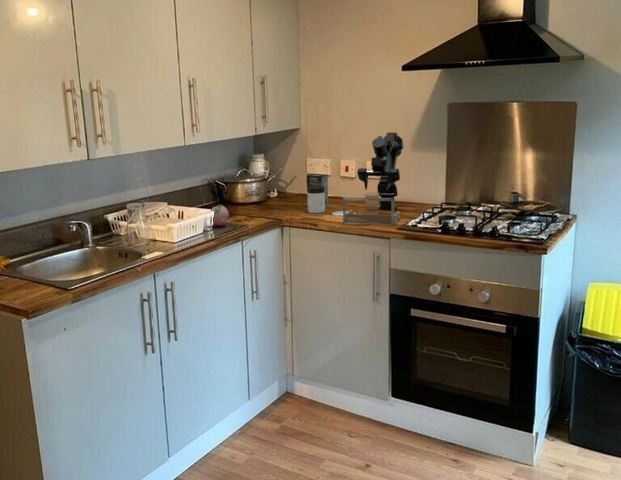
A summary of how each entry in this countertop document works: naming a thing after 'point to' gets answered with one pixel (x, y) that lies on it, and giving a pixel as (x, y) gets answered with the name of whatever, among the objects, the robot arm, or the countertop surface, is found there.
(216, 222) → the decorative fruit
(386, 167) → the robot arm
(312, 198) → the jar
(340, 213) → the saucer
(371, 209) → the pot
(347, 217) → the box
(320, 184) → the coffee box
